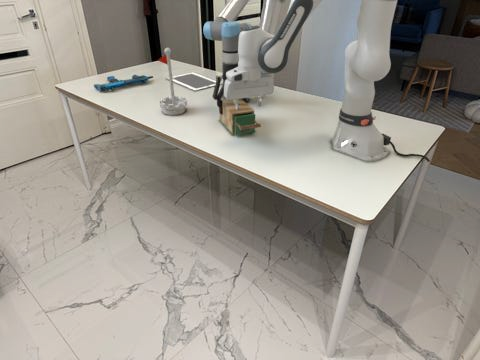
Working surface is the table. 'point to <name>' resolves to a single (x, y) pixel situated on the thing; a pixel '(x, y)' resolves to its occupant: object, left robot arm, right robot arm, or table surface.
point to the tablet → (194, 81)
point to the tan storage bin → (233, 113)
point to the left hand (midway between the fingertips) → (232, 111)
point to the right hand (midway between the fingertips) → (249, 107)
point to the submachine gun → (121, 82)
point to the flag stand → (174, 103)
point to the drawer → (245, 123)
